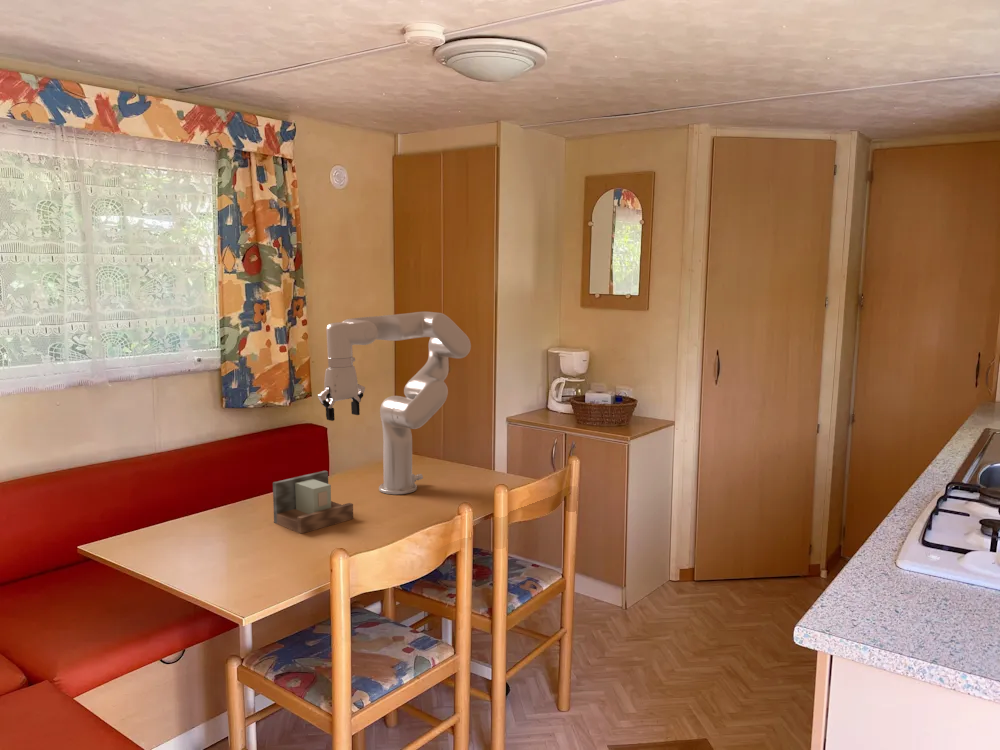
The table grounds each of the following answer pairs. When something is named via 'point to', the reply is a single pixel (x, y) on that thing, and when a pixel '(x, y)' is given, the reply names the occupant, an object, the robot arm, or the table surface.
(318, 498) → the mini block
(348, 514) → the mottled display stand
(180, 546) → the table surface
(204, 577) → the table surface
